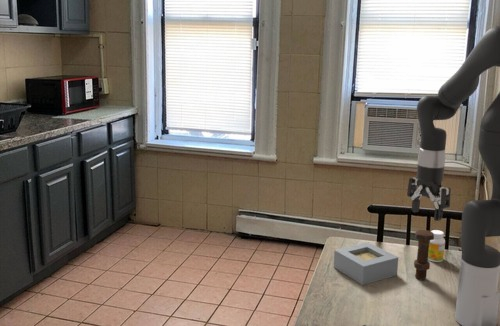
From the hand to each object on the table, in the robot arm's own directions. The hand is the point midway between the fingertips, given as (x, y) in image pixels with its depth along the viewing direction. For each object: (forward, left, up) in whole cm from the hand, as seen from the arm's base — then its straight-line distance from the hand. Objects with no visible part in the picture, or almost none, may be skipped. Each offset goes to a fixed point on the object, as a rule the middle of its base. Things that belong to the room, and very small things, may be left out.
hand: (426, 215), depth 158 cm
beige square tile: (+12, +12, -17) cm, 24 cm away
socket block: (+12, +12, -20) cm, 26 cm away
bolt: (0, 0, -21) cm, 21 cm away
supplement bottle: (+8, -15, -21) cm, 27 cm away
